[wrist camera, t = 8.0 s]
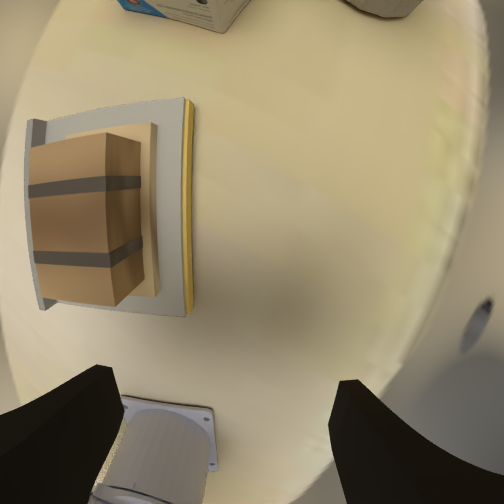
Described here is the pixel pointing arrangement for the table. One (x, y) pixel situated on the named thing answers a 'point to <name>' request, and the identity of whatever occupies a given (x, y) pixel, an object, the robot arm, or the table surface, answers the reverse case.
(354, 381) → the robot arm
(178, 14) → the ink box
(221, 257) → the table surface
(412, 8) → the water bottle
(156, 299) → the dock
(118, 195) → the cardboard box
